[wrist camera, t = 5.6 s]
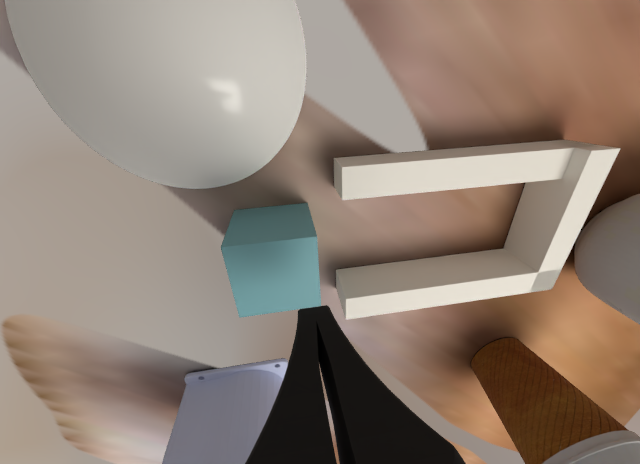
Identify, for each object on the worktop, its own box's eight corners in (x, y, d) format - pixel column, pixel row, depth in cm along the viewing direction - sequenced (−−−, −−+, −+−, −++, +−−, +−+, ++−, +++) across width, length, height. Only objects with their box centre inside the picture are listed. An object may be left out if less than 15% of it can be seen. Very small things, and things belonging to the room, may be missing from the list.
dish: (101, 193, 16) (90, 198, 15) (-54, -138, 10) (-87, -161, 9) (311, 174, 17) (313, 179, 16) (293, -125, 11) (294, -143, 10)
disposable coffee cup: (549, 324, 29) (702, 453, 19) (513, 377, 34) (620, 506, 23) (474, 329, 28) (596, 473, 17) (447, 384, 32) (530, 526, 21)
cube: (247, 269, 20) (239, 317, 16) (234, 209, 18) (220, 247, 13) (311, 261, 21) (320, 305, 16) (307, 202, 18) (316, 236, 14)
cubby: (336, 288, 22) (345, 319, 19) (333, 157, 17) (346, 171, 14) (516, 264, 24) (551, 289, 21) (564, 139, 19) (620, 148, 16)
